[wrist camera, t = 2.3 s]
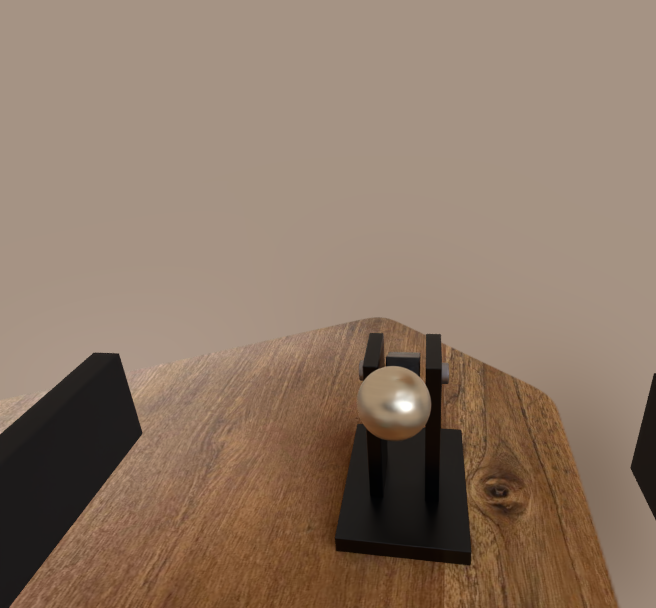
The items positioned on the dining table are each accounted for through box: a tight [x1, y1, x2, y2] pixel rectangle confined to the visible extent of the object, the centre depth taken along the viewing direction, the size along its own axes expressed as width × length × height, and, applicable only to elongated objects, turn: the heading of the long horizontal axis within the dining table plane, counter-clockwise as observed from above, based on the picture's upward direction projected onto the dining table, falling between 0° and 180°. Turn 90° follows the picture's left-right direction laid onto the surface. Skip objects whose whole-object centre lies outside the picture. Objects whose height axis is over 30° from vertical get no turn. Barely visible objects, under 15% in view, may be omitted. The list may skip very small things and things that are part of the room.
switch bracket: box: [335, 333, 471, 565], centre depth 36 cm, size 12×9×13 cm
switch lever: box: [357, 352, 431, 441], centre depth 29 cm, size 13×4×4 cm, turn 169°
